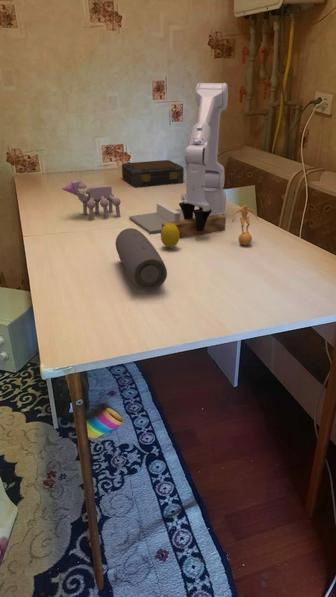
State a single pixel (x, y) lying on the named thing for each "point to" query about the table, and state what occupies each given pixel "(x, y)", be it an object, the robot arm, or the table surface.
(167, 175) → the cash box
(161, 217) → the fulcrum stand
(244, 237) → the figurine
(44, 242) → the table surface
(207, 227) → the walnut beam
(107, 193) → the purple toy animal
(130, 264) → the bluetooth speaker
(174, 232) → the lemon
